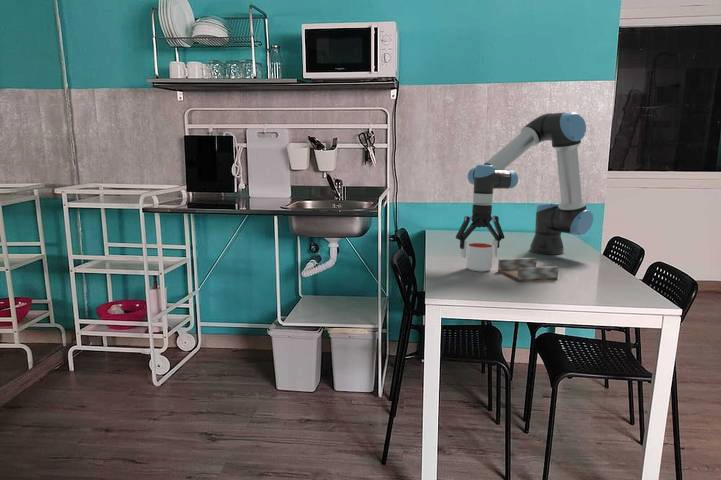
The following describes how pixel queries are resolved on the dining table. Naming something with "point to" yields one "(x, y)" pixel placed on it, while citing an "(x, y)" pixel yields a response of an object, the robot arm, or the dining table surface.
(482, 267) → the cup
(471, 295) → the dining table surface
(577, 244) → the dining table surface
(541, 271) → the cradle
